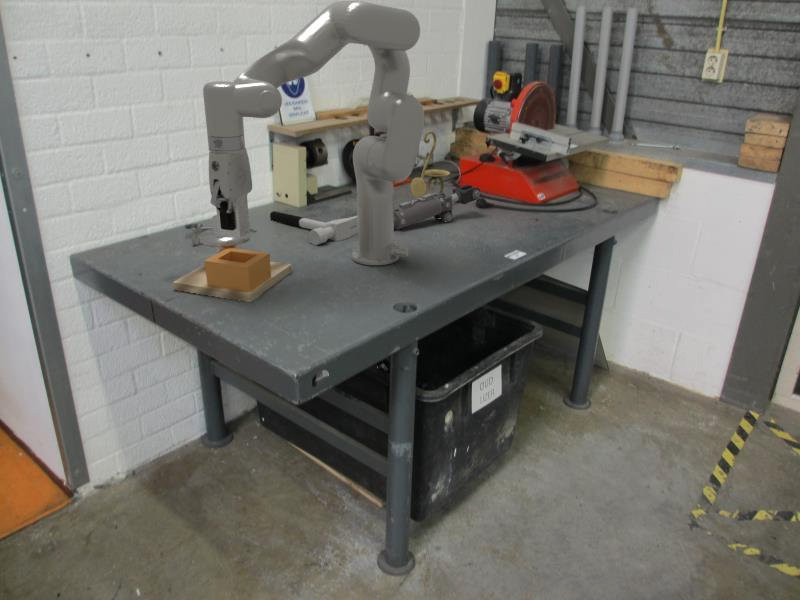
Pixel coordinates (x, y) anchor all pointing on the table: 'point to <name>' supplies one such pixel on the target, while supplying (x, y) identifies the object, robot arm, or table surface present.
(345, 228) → the claw hammer
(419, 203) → the hydraulic cylinder
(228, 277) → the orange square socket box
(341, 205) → the table surface
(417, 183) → the wall sconce
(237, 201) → the grey upright block
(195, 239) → the grey small pieces
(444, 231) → the table surface
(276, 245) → the table surface
